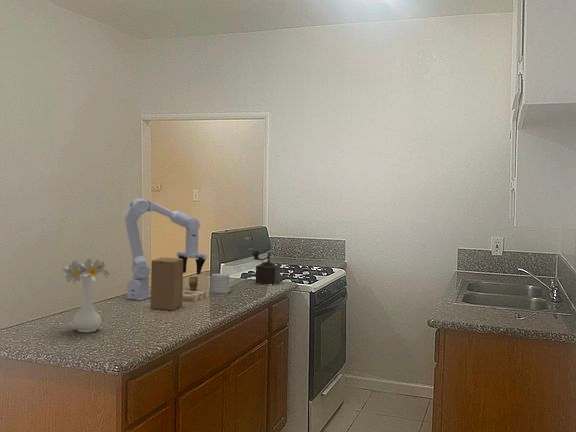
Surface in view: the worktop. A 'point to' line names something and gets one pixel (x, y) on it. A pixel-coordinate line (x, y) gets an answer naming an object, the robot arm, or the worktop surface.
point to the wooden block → (166, 283)
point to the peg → (193, 283)
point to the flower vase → (86, 292)
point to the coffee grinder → (266, 270)
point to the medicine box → (220, 283)
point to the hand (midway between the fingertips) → (191, 273)
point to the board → (194, 295)
